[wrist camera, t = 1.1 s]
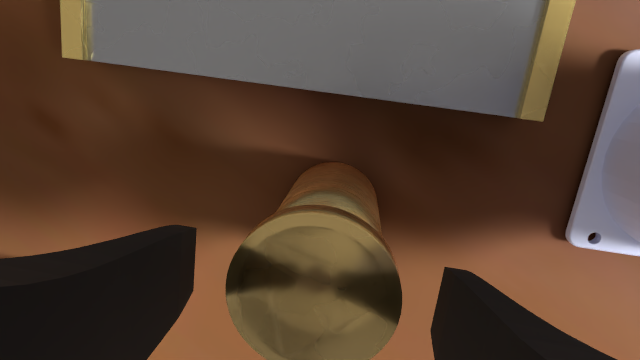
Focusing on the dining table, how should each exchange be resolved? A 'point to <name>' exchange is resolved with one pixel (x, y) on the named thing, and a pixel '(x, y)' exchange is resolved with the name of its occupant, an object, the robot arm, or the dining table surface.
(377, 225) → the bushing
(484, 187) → the dining table surface
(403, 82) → the jig
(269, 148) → the dining table surface
